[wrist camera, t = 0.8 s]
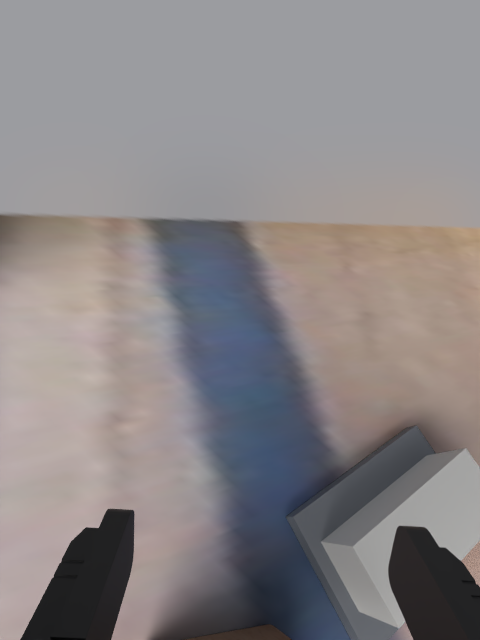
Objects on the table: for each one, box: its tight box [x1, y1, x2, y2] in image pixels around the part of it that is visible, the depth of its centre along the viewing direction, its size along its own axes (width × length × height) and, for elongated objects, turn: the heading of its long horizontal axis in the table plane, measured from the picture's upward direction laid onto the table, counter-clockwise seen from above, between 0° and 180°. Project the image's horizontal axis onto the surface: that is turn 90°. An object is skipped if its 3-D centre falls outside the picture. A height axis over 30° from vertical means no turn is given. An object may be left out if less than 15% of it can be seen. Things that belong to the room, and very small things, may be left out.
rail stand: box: [286, 425, 480, 640], centre depth 29 cm, size 10×15×6 cm, turn 120°
